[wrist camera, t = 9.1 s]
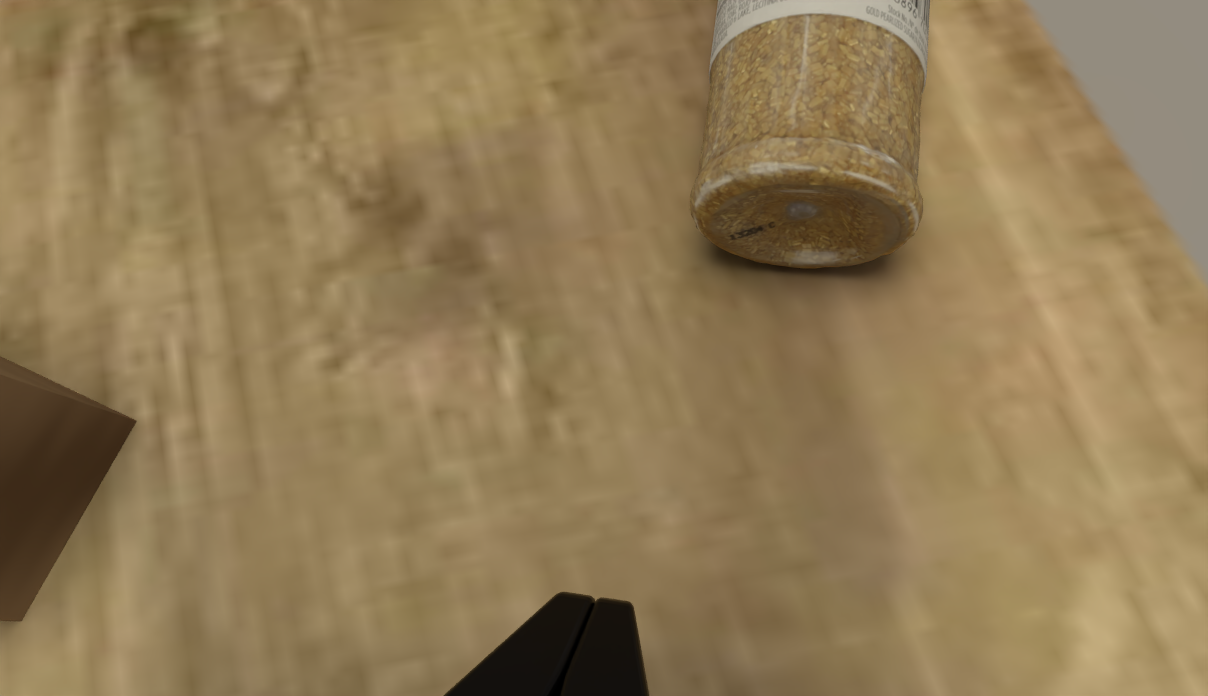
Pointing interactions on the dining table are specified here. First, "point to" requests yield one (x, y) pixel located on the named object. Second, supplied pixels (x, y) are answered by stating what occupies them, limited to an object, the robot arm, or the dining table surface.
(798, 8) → the sprinkles bottle
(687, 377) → the dining table surface
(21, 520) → the walnut block
